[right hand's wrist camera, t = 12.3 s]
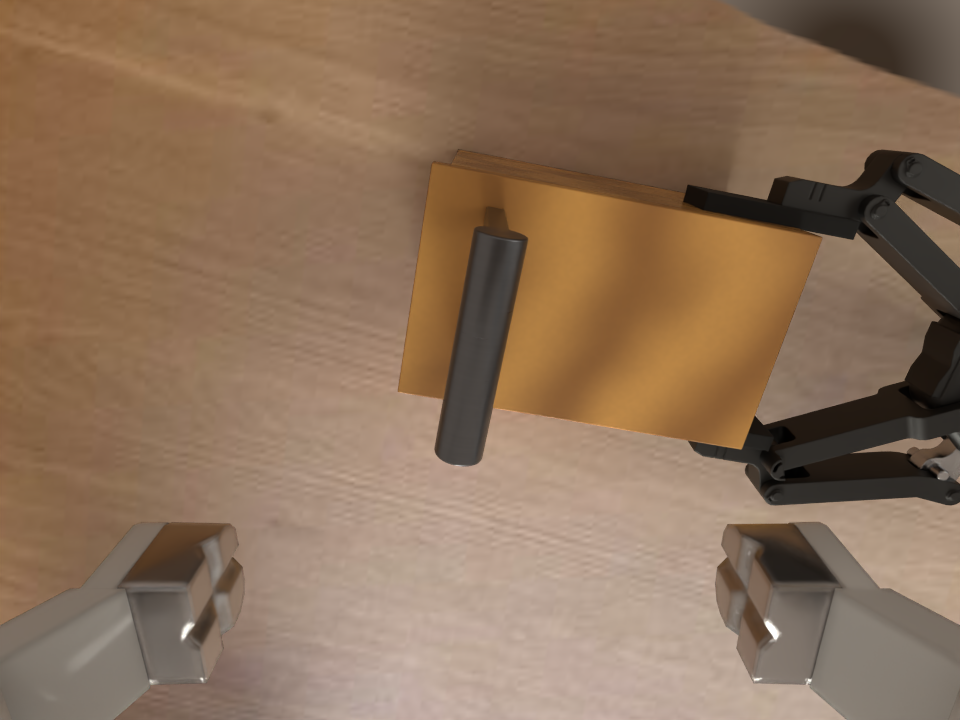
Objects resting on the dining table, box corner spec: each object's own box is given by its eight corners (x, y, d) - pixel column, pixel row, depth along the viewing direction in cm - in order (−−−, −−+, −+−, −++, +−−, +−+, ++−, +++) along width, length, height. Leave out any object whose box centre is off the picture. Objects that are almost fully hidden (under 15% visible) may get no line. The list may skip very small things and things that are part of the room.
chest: (430, 319, 36) (414, 386, 28) (458, 149, 33) (449, 163, 24) (674, 361, 37) (734, 440, 29) (725, 200, 34) (812, 233, 25)
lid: (399, 384, 27) (371, 480, 20) (433, 160, 24) (413, 182, 17) (734, 440, 28) (819, 551, 21) (812, 233, 25) (944, 282, 18)
